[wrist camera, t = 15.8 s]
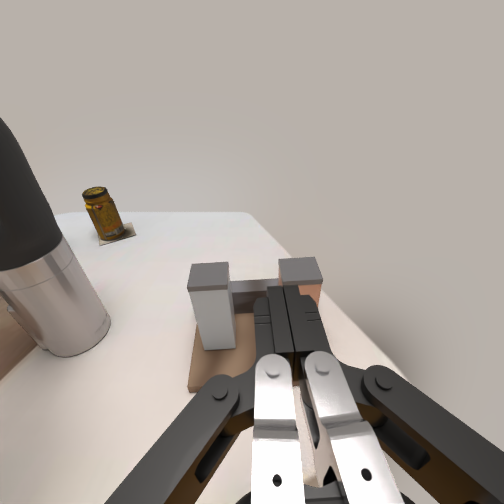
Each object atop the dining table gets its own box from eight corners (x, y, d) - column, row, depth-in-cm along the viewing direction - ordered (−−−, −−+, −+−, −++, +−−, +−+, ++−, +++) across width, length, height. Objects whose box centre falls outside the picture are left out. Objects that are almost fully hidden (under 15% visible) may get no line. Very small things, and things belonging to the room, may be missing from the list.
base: (189, 392, 35) (179, 366, 31) (201, 310, 46) (194, 283, 42) (331, 383, 35) (339, 356, 31) (309, 303, 47) (312, 276, 43)
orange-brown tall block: (280, 346, 38) (283, 281, 30) (277, 322, 41) (278, 259, 34) (312, 344, 38) (322, 279, 30) (306, 321, 41) (314, 256, 34)
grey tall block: (204, 350, 38) (187, 286, 30) (206, 326, 41) (191, 264, 34) (235, 348, 38) (227, 284, 30) (236, 325, 41) (228, 261, 34)
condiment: (97, 232, 69) (77, 188, 61) (131, 223, 72) (116, 180, 65) (99, 246, 64) (77, 200, 56) (136, 235, 67) (120, 191, 59)
